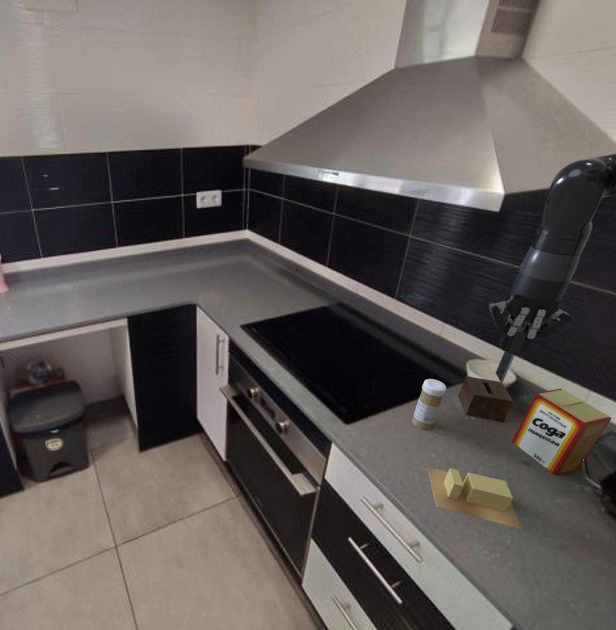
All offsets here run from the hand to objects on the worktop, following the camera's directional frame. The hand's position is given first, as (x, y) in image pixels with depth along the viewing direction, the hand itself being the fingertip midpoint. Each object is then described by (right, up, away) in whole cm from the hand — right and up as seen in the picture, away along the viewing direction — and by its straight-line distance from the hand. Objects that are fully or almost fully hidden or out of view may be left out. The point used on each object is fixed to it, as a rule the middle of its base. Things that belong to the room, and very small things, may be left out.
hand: (511, 350), depth 79 cm
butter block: (-9, -29, -4) cm, 31 cm away
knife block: (+7, -18, +19) cm, 27 cm away
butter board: (-11, -30, -3) cm, 32 cm away
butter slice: (-15, -28, -3) cm, 32 cm away
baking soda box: (+11, -25, +6) cm, 28 cm away
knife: (0, -6, +3) cm, 7 cm away
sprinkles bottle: (-10, -21, +15) cm, 27 cm away
